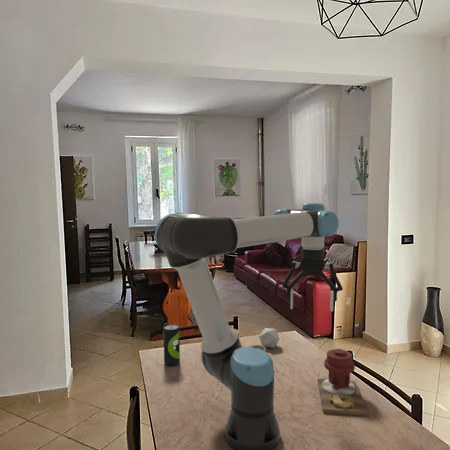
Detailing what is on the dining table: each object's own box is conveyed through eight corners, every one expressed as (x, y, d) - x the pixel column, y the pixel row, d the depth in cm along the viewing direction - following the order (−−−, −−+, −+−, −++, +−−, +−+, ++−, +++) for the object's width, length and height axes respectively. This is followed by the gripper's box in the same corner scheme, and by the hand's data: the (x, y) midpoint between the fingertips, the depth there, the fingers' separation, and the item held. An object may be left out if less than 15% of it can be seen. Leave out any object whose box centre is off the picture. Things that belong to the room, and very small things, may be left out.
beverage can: (164, 360, 157) (163, 324, 156) (179, 359, 159) (178, 323, 157) (164, 367, 151) (163, 330, 150) (180, 365, 152) (179, 328, 151)
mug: (268, 366, 152) (268, 349, 151) (254, 369, 149) (254, 352, 148) (255, 356, 161) (255, 341, 160) (241, 360, 158) (241, 344, 157)
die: (258, 344, 176) (254, 332, 170) (272, 332, 179) (268, 320, 173) (269, 355, 170) (266, 343, 164) (284, 343, 173) (281, 331, 167)
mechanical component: (321, 378, 137) (350, 379, 136) (326, 392, 127) (357, 393, 126) (322, 344, 136) (351, 345, 135) (327, 356, 126) (358, 357, 125)
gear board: (367, 416, 117) (367, 405, 116) (323, 412, 119) (323, 402, 118) (355, 384, 136) (355, 375, 136) (317, 381, 138) (317, 372, 138)
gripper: (349, 248, 133) (347, 308, 135) (276, 246, 138) (276, 304, 140) (352, 250, 126) (350, 314, 127) (275, 248, 131) (274, 309, 132)
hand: (311, 309), depth 134 cm, fingers open, 13 cm apart
